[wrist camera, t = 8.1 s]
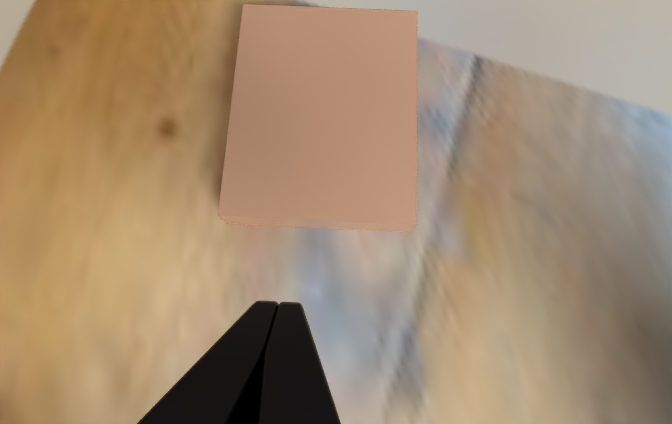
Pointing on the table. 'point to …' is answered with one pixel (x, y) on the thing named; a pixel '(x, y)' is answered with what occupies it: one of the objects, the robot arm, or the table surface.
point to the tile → (323, 120)
